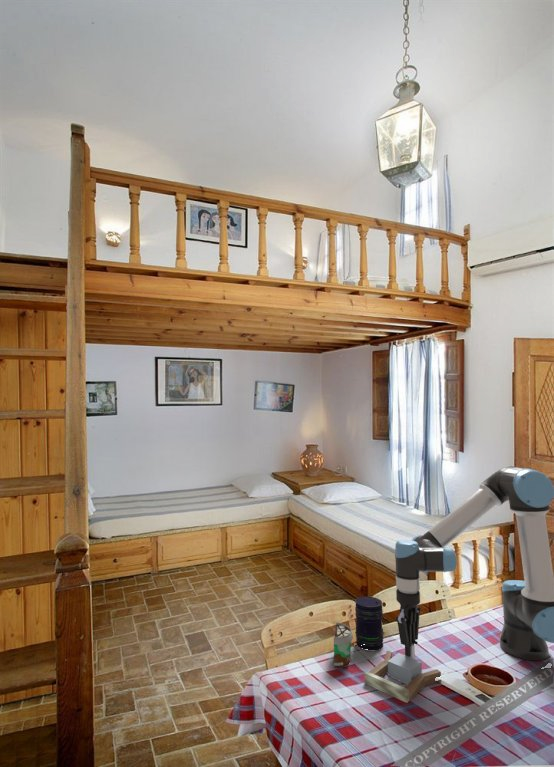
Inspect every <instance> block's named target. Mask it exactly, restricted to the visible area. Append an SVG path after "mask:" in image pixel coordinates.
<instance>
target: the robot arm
mask: <svg viewBox="0 0 554 767" xmlns="http://www.w3.org/2000/svg"><path fill="white" fill-rule="evenodd" d="M478 487H479V488H478V489H477V490H476V491H475V492H473V493H472V494H471V495H470V496H469V497H468V498H466V499H465V500H464V501H463V502H461V503H460V504H459V505H458V506H457V507H456V508H455V509H453V510H452V511H451V512H450V513H449V514H447V515H446V516H445V517H444V518H442V519H441V520H440V521H438V522H437V523H436V524H435V525H434V526H433V527H431V529H429V530H428V531H427V532H425V533H424V534H423V535H422V534H420V535H419V534H418V535H415V536H414V537H413V538H412V539H411V540H410V539H400V540H397V542H396V543H395V549H394V551H395V552H394V558H395V577H394V578H395V583H396V590H395V591H396V592H395V595H396V602H397V603H398V604H399V605H400V608H399V612H400V613H399V615H396V616H395V621H396V624H397V627H398V629H397V630H398V635H399V641H400V644H401V645H403V646H404V655H405V656H408V657H410V658H413V659H415V660H416V656H415V655H416V654H415V652H416V651H415V645H418V638H419V629H420V628H419V627H420V614H421V611H422V610H421V606H420V607H419V606H418V605H420V603H421V592H420V589H421V585H420V584H421V582H420V581H421V580H420V573H421V572H426V573H427V572H429V573H430V572H433V573H447V572H455V570H457V565H458V564H457V563H458V559H457V555H456V551H455V550H454V549H453V548H451V547H447V546H449V544H450V543H452V542H453V541H454V540H455V539H457V538H458V537H459V536H460V535H461V534H462V533H464V532H465V531H467V529H469V528H470V527H471V526H472V525H474V523H476V522H477V521H479V520H480V519H481V518H482V517H483V516H485V515H486V514H487V513H488V512H489V511H491V510H492V509H493V508H494V507H495V506H501V505H503V504H504V503H505V502H508V504H509V509H510V510H511V512H513V513H514V514H515V518H516V525H517V534H518V539H519V540H518V541H519V548H520V549H519V550H520V557H521V562H522V572H523V578H524V580H520V579H519V580H518V579H517V580H516V579H511V580H508V579H507V580H505V581H503V582H502V586H501V593H502V596H501V597H502V609H503V610H502V611H503V625H502V629H501V632H500V636H499V646H500V648H501V650H503V651H504V652H505V653H506V654H509V655H512V656H513V657H516V658H519V659H523V660H527V661H544V660H547V658H549V656H550V654H549V653H550V652H549V646H548V644H547V643H550V644H551V643H552V644H554V571H553V570H554V569H553V568H554V567H553V564H552V555H551V548H550V541H549V533H548V526H547V520H546V519H547V518H546V515H547V513H549V512H550V504H551V503H552V500H553V499H554V484H553V482H552V480H551V478H549V477H548V476H547V475H546V474H545V473H543V472H541V471H539V470H535V469H533V468H526V467H518V466H512V465H511V466H505V467H503V468H501V469H498V470H497V471H495V472H494V473H492V474H491V475H490V476H488V477H487V478H486V479H484V480H483V481H482V482H481V483H480V484H479V486H478Z"/></svg>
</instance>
